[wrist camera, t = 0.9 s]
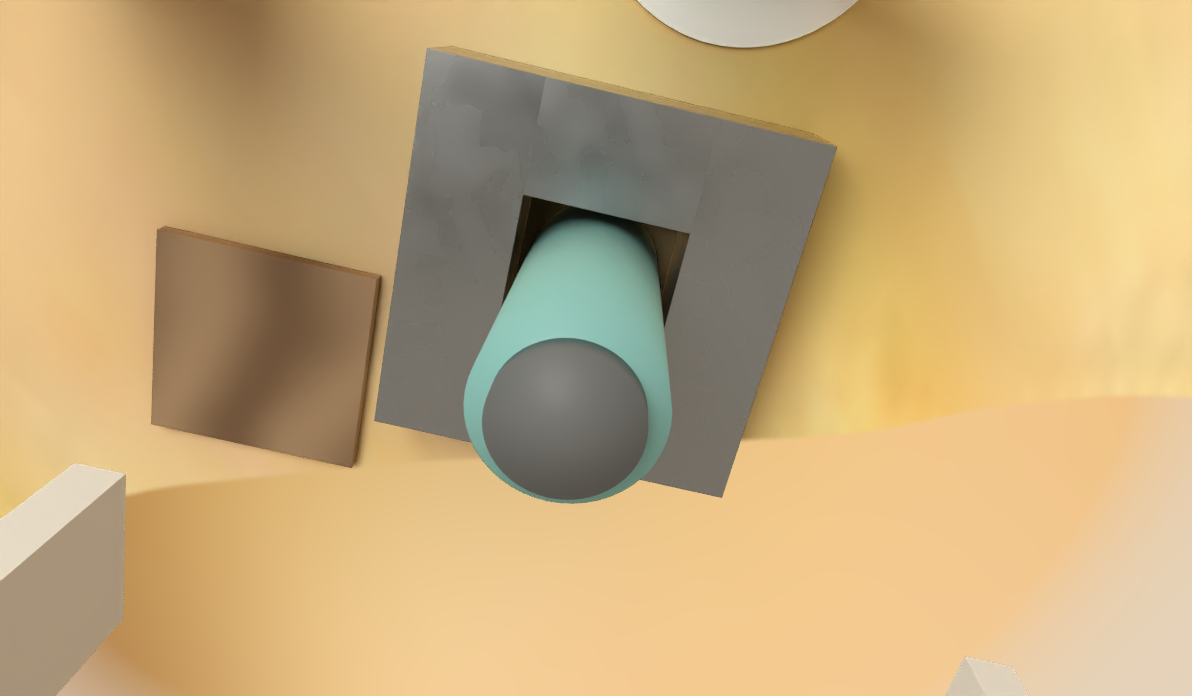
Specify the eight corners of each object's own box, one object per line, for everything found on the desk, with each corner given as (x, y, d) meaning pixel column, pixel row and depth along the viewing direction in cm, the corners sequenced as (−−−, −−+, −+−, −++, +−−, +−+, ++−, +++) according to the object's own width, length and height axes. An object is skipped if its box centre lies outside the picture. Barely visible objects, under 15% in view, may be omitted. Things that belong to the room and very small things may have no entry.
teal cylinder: (519, 309, 34) (441, 495, 20) (543, 188, 32) (477, 302, 19) (640, 337, 34) (643, 539, 21) (671, 218, 33) (698, 353, 19)
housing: (401, 380, 36) (374, 421, 32) (452, 46, 31) (427, 48, 27) (712, 449, 36) (721, 497, 32) (812, 133, 31) (837, 146, 27)
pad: (158, 418, 37) (151, 423, 36) (164, 226, 34) (156, 229, 33) (355, 461, 37) (351, 468, 37) (380, 275, 34) (376, 279, 33)
